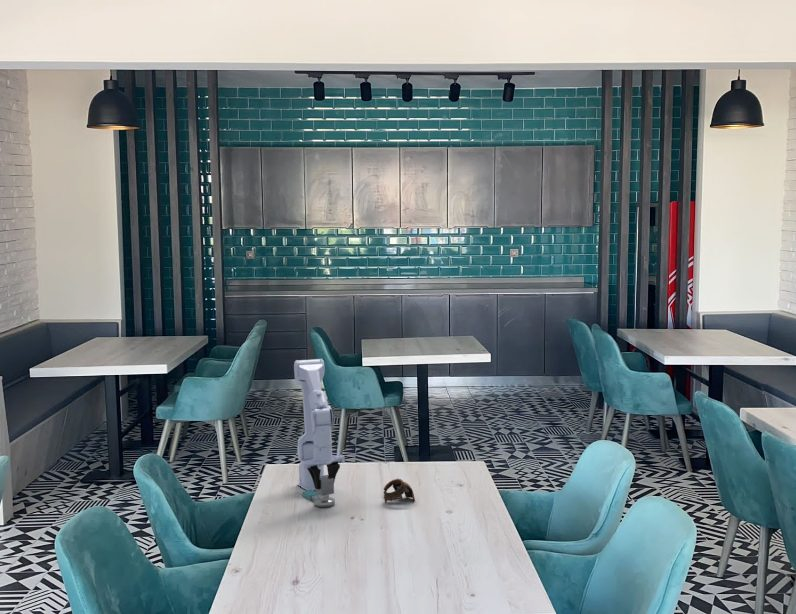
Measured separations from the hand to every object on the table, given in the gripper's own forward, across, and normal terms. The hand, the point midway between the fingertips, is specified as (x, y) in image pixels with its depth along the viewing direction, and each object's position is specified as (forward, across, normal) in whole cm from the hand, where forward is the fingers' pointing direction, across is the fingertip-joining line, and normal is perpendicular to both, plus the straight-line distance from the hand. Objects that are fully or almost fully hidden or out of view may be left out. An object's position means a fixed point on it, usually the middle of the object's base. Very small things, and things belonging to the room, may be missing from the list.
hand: (324, 487), depth 268 cm
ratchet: (+6, 0, +5) cm, 8 cm away
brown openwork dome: (+6, +22, -11) cm, 25 cm away
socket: (+2, 0, 0) cm, 2 cm away
